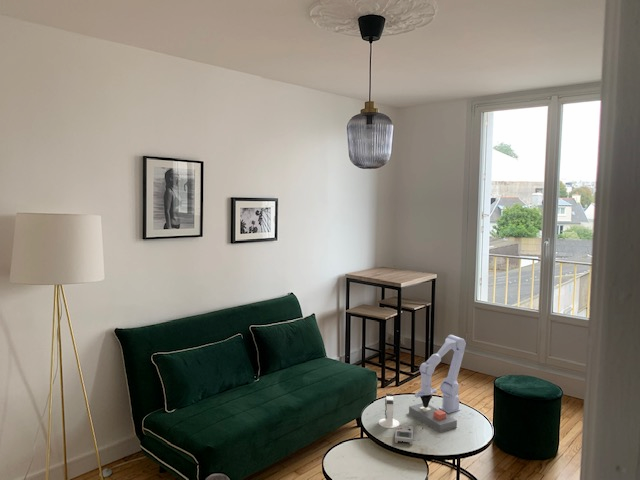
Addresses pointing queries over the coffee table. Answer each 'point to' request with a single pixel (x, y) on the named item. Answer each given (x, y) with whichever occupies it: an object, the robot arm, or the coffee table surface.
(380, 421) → the white post stand
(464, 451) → the coffee table surface
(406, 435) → the handheld gaming device
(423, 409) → the plug
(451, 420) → the console
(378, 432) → the coffee table surface
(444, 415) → the red plug
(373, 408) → the coffee table surface
